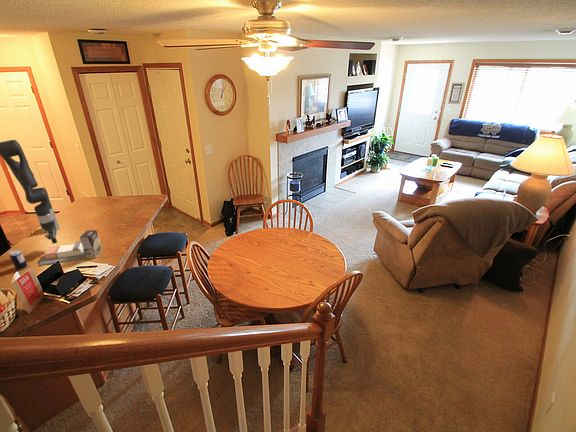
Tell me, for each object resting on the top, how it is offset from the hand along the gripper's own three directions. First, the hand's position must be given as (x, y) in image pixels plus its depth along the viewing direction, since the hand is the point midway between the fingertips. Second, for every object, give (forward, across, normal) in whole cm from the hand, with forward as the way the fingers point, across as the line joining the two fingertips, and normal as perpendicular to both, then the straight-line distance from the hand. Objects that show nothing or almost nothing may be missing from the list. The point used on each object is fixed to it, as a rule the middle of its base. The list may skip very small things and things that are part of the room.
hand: (55, 242), depth 201 cm
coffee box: (+6, +13, +25) cm, 29 cm away
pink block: (+4, +8, 0) cm, 10 cm away
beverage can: (+6, +17, -14) cm, 23 cm away
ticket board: (+6, +8, +7) cm, 12 cm away
